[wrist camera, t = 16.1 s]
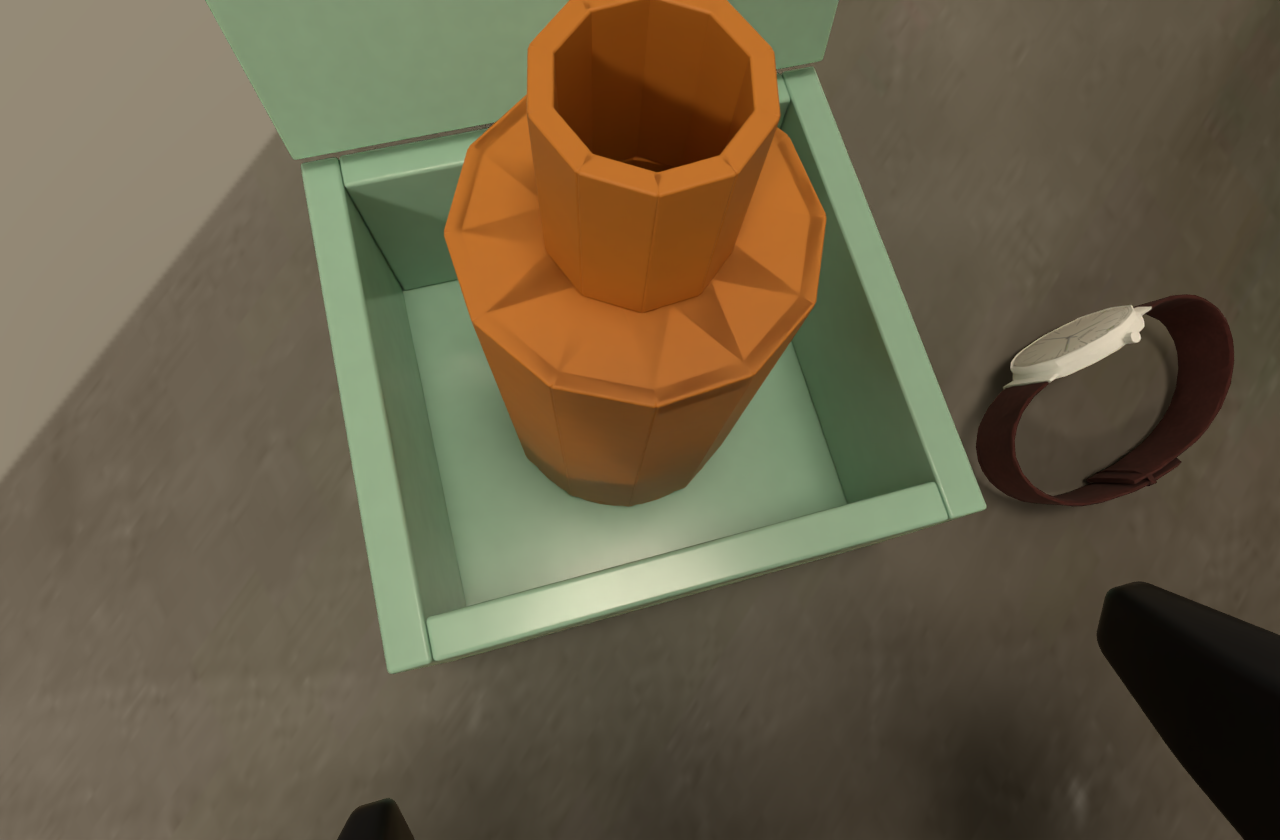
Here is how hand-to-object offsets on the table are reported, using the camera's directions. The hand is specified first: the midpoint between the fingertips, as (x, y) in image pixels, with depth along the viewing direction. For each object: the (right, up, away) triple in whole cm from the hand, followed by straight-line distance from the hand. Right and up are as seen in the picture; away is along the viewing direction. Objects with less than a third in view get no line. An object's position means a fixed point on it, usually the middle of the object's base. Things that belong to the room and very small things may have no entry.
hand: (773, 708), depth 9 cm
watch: (+11, +4, +12) cm, 17 cm away
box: (-2, +4, +12) cm, 12 cm away
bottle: (-2, +4, +11) cm, 12 cm away
